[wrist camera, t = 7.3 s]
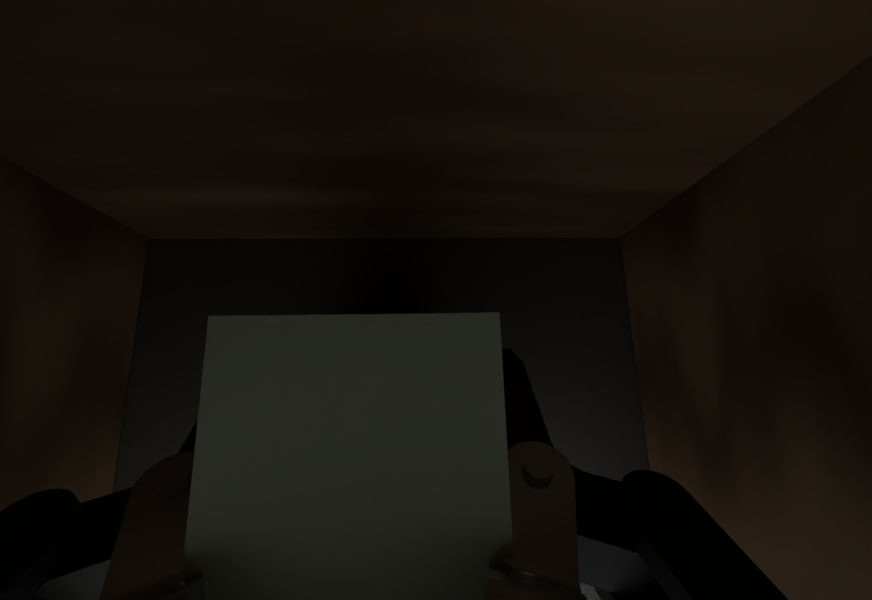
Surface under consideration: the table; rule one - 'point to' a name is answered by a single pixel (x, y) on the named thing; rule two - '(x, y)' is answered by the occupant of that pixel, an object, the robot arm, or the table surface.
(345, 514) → the sage block
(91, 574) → the robot arm
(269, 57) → the walnut cubby
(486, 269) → the table surface
